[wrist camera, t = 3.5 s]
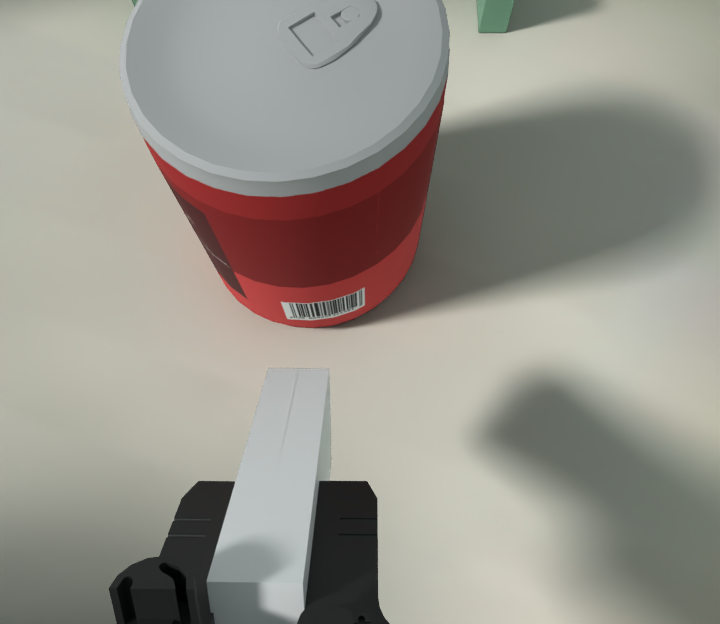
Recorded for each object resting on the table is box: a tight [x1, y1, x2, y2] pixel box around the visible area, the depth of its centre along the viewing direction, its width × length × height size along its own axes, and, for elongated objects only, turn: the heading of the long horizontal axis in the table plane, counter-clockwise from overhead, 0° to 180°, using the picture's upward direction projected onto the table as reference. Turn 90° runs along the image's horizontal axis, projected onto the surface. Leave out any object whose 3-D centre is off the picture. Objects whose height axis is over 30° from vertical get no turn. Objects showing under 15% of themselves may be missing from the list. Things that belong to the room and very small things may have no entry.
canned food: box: [119, 0, 450, 328], centre depth 20 cm, size 8×8×11 cm
